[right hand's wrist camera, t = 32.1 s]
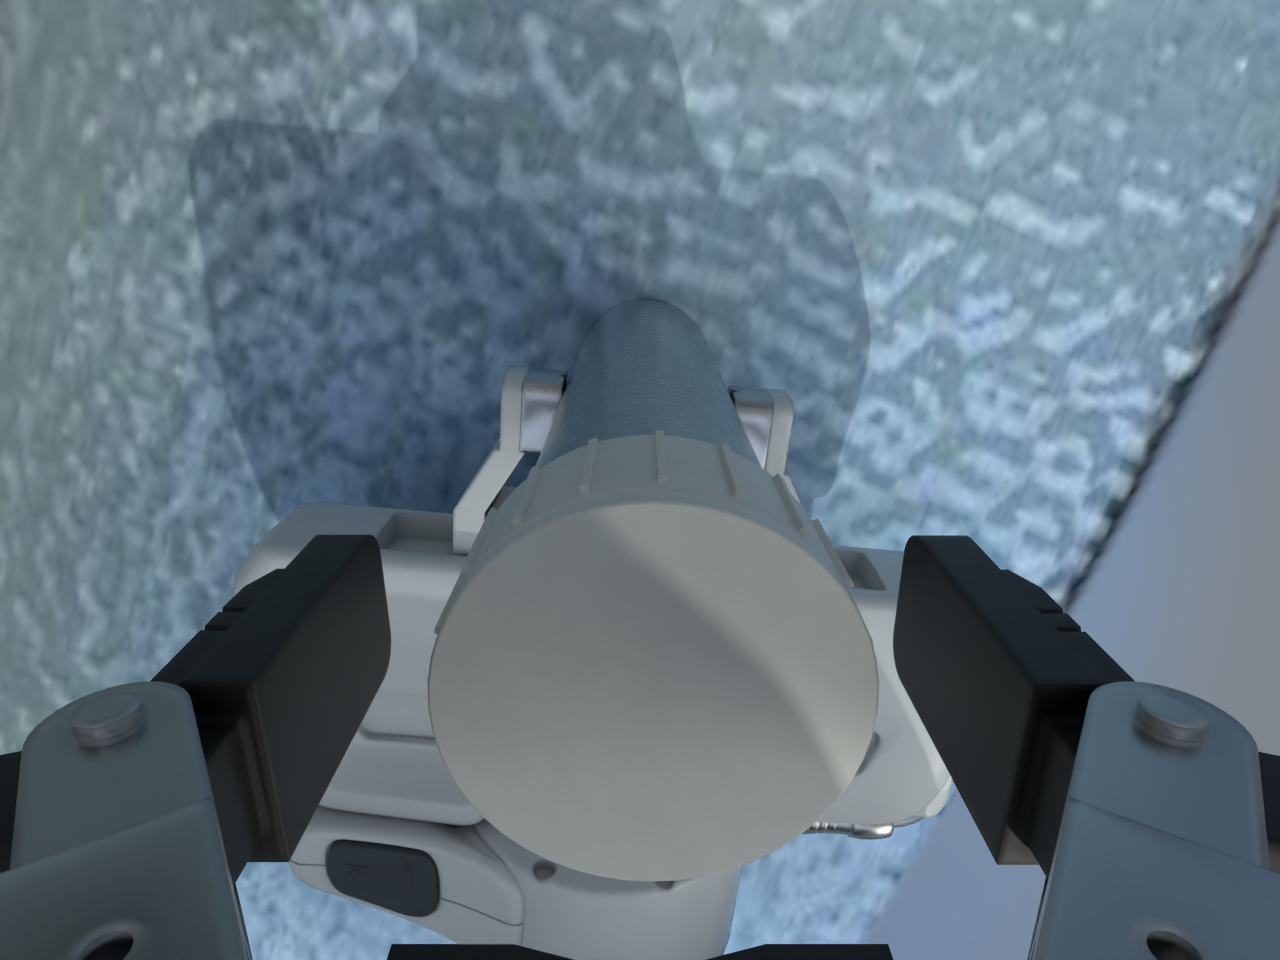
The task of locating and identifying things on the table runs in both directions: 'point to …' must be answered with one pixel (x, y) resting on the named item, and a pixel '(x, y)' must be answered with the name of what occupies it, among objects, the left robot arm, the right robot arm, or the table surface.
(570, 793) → the lid
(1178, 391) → the table surface
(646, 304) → the jar
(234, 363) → the table surface
